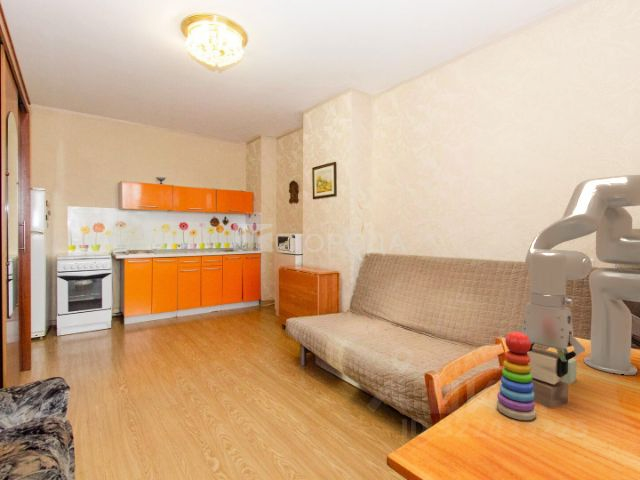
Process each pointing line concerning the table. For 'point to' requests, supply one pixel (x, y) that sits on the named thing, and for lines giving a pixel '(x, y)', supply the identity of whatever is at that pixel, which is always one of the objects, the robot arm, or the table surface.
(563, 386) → the walnut base
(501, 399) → the stacking toy
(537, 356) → the maple block
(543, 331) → the robot arm
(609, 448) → the table surface
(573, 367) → the sage block
